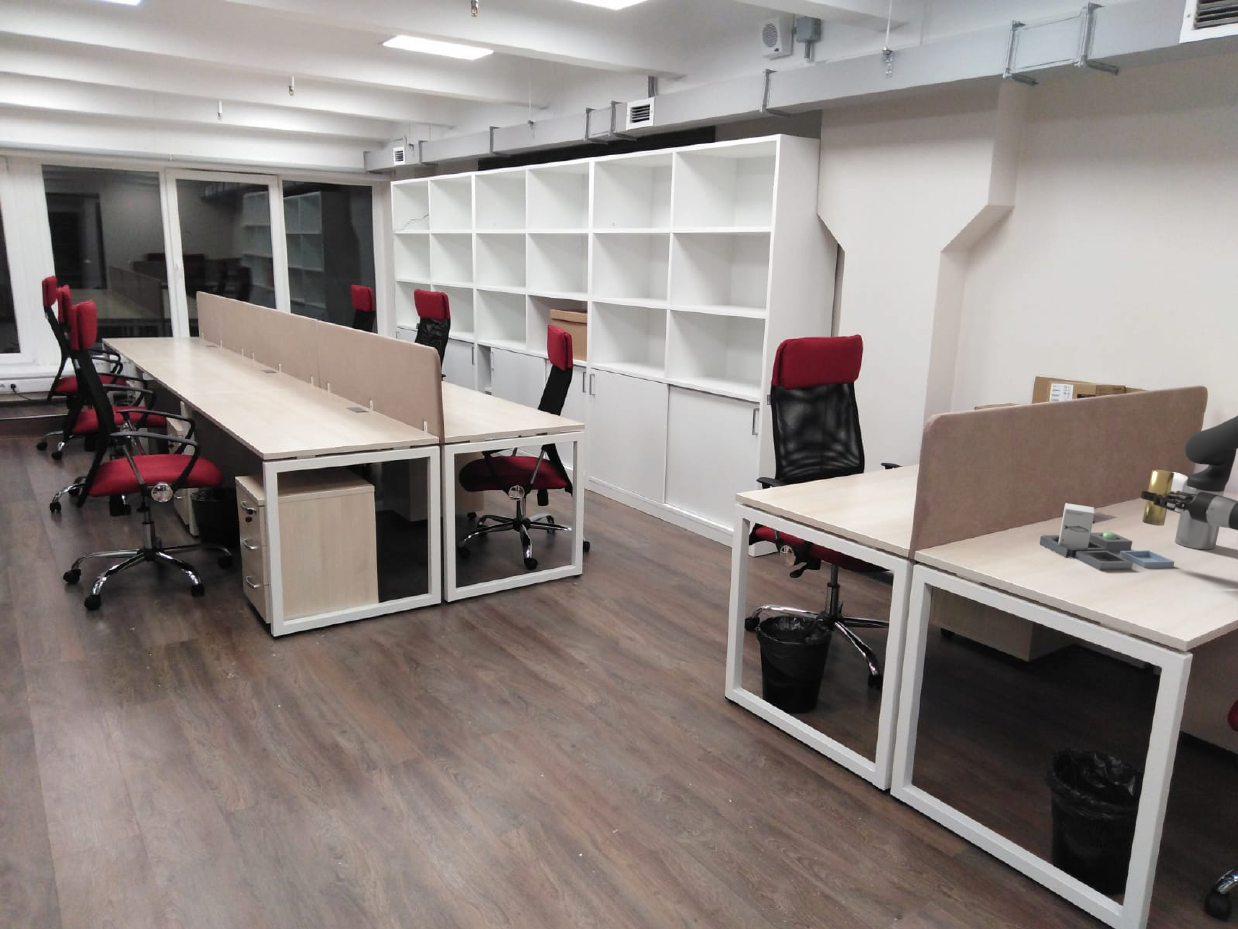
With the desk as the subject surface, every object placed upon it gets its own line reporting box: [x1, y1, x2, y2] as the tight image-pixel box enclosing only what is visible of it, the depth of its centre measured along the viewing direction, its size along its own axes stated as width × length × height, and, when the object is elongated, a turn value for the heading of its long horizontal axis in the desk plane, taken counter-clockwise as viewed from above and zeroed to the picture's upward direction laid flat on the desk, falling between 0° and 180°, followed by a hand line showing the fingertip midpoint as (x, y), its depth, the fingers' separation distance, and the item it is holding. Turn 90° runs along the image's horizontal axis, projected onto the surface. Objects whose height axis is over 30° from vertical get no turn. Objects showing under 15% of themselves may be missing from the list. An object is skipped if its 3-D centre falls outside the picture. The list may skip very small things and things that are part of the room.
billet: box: [1142, 469, 1174, 527], centre depth 230 cm, size 5×5×14 cm
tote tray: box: [1118, 549, 1175, 569], centre depth 234 cm, size 9×9×2 cm
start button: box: [1102, 531, 1118, 539], centre depth 244 cm, size 3×3×3 cm
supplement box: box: [1058, 502, 1095, 548], centre depth 240 cm, size 7×7×13 cm
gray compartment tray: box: [1039, 534, 1134, 572], centre depth 237 cm, size 12×23×2 cm, turn 10°
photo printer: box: [1171, 471, 1189, 513], centre depth 290 cm, size 10×4×12 cm, turn 13°
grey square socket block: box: [1089, 531, 1133, 553], centre depth 245 cm, size 8×8×4 cm
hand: (1148, 493), depth 232 cm, fingers closed on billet, 5 cm apart
